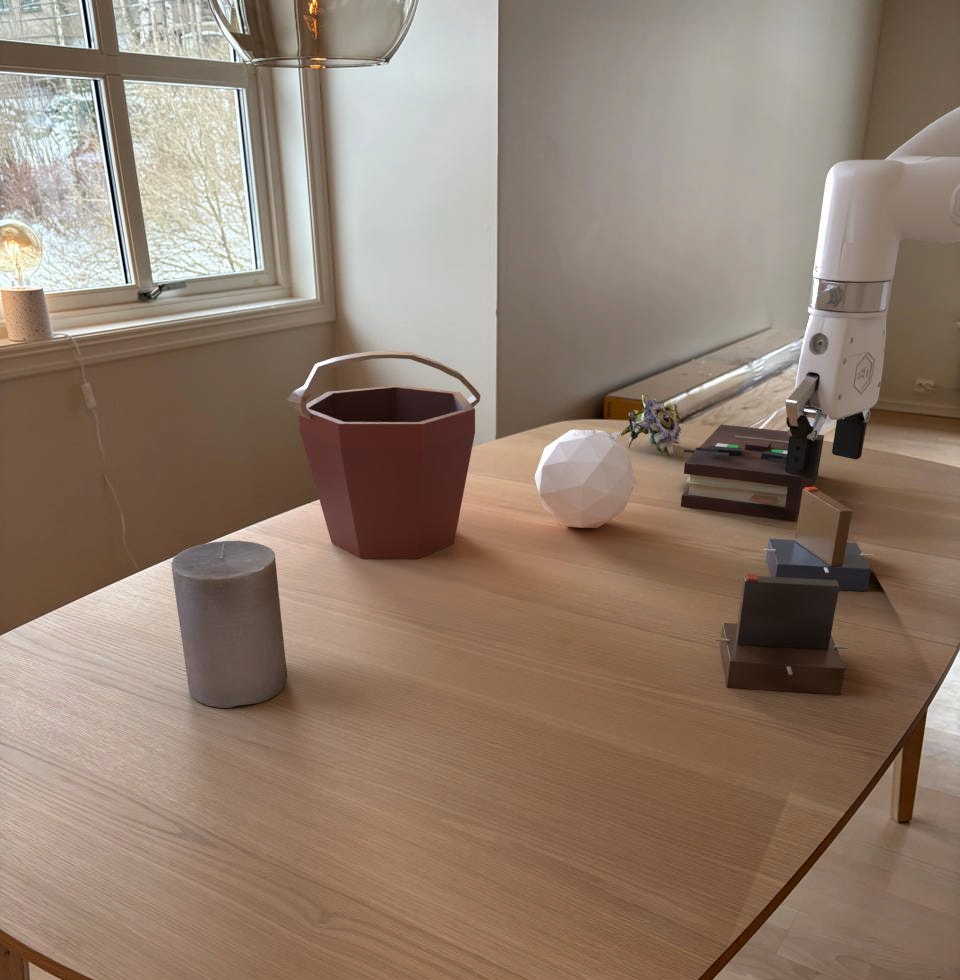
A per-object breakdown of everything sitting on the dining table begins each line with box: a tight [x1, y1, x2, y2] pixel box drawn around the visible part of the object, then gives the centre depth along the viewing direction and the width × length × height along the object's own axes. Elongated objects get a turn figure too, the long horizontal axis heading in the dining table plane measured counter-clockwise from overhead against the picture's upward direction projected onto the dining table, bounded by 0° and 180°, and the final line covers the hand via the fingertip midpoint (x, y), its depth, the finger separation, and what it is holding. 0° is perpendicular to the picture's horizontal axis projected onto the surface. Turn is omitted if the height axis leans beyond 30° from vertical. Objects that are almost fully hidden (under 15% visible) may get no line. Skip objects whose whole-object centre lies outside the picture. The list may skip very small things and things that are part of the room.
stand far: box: [763, 538, 874, 592], centre depth 124 cm, size 13×13×3 cm
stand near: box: [714, 622, 850, 696], centre depth 101 cm, size 13×13×3 cm
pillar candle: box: [170, 540, 289, 709], centre depth 95 cm, size 10×10×15 cm
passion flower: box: [620, 394, 682, 456], centre depth 175 cm, size 11×11×12 cm
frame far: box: [794, 486, 853, 566], centre depth 122 cm, size 9×2×7 cm, turn 12°
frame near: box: [736, 573, 840, 650], centre depth 99 cm, size 9×2×7 cm, turn 82°
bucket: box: [286, 350, 481, 560], centre depth 131 cm, size 24×22×25 cm
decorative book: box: [680, 424, 825, 522], centre depth 155 cm, size 19×8×30 cm
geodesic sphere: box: [534, 428, 637, 529], centre depth 139 cm, size 15×14×14 cm
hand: (823, 465), depth 105 cm, fingers open, 9 cm apart
